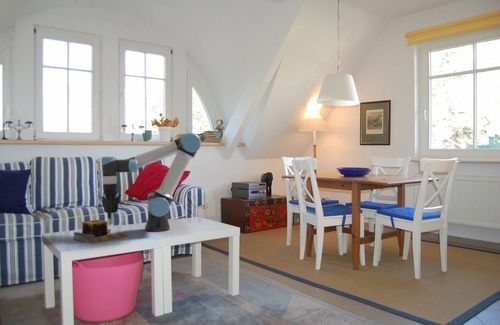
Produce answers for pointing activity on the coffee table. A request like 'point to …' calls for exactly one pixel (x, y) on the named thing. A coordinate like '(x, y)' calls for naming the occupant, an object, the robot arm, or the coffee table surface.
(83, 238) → the bay
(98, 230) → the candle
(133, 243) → the coffee table surface
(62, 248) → the coffee table surface
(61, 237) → the coffee table surface
